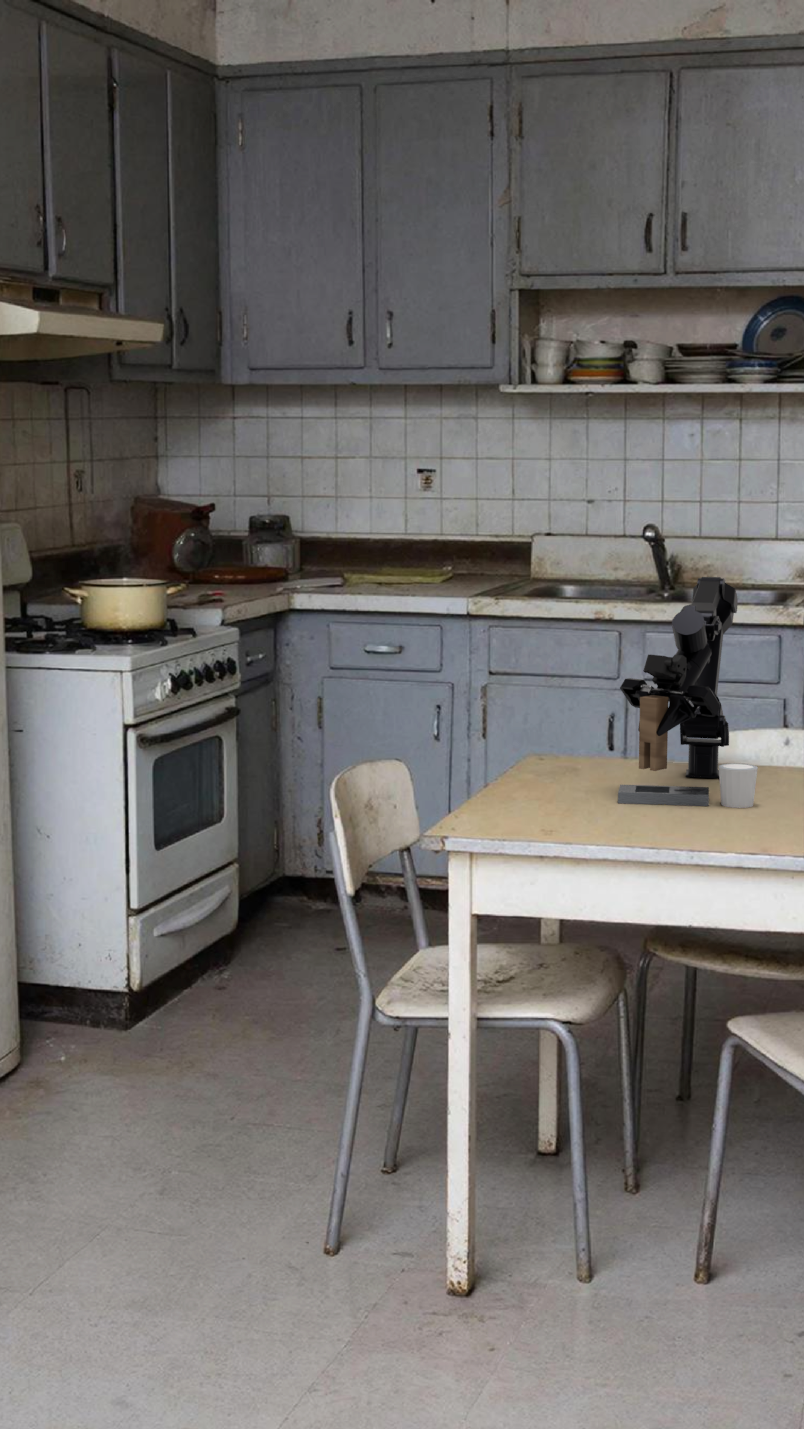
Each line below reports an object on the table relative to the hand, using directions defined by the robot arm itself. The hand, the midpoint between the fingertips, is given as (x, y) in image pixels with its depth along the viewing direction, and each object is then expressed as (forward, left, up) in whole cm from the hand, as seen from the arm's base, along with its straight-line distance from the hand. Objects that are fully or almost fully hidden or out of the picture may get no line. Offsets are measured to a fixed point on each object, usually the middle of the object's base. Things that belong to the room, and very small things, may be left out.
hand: (648, 733), depth 300 cm
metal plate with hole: (-1, +3, -12) cm, 13 cm away
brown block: (-1, +1, -7) cm, 7 cm away
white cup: (0, +16, -13) cm, 20 cm away
